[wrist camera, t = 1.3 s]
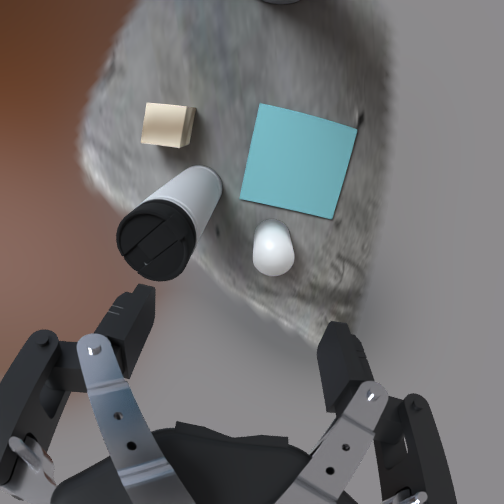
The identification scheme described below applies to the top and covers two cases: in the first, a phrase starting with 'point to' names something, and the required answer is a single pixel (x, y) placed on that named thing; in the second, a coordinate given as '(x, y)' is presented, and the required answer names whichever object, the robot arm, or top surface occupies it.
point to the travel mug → (169, 224)
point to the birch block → (167, 125)
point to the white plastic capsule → (272, 248)
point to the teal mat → (297, 161)
